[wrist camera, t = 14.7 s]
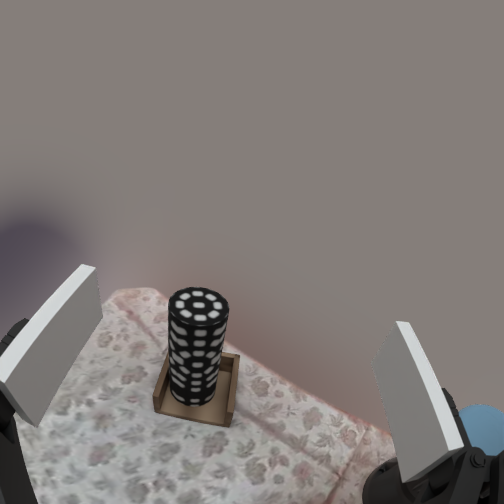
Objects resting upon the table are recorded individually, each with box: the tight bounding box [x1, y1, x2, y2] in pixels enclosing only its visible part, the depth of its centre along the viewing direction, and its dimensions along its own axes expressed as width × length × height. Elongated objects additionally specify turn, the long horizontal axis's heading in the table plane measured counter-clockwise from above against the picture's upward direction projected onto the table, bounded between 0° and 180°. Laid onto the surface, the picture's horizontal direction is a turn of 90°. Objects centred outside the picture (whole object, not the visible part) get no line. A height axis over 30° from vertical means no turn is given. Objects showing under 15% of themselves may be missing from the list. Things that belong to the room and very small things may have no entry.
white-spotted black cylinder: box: [168, 287, 229, 407], centre depth 43 cm, size 8×8×20 cm
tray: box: [152, 352, 240, 427], centre depth 47 cm, size 13×13×6 cm
